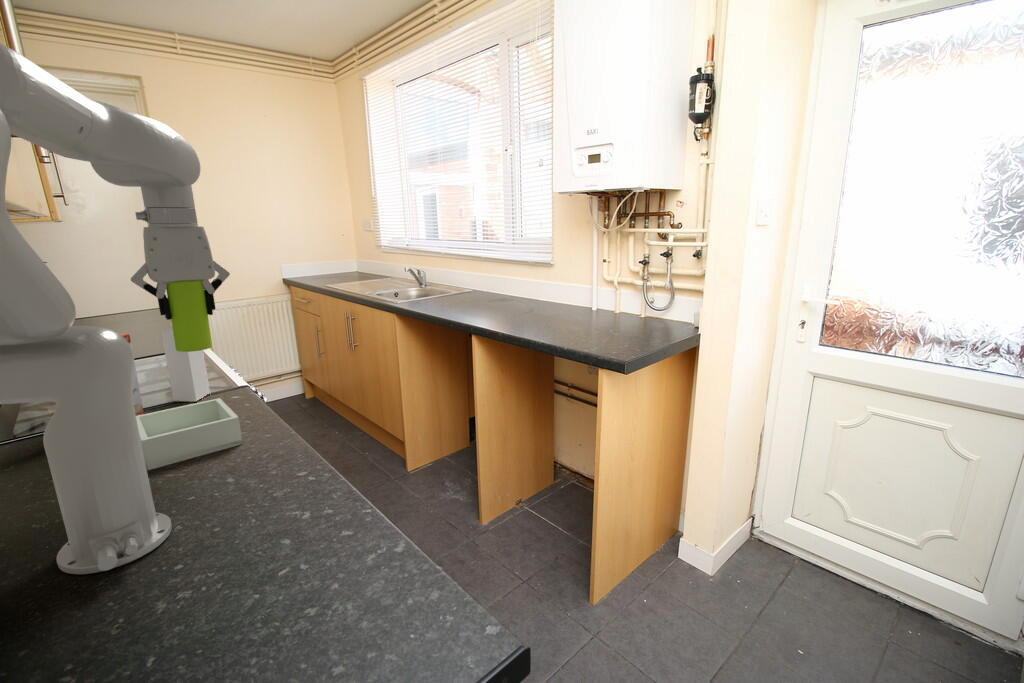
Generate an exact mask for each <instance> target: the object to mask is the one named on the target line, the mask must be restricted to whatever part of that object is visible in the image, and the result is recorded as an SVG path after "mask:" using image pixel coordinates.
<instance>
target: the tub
mask: <svg viewBox="0 0 1024 683" xmlns="http://www.w3.org/2000/svg"><path fill="white" fill-rule="evenodd" d="M136 420H137V426H138V430H139V435H140V439H141V444H142V449H143V454H144V459H145V464H146V468H147V471H151V470H155V469H158V468H162V467H165V466H168V465H169V466H170V465H173V464H176V463H180V462H184V461H187V460H190V459H194V458H197V457H200V456H205V455H208V454H212V453H215V452H219V451H223V450H227V449H230V448H233V447H236V446H242V445H243V443H244V442H243V437H242V436H243V435H242V431H241V424H240V419H239V416H238V415H237V414H236V412H234V411H233V410H232V409H231V408H230V407H229V406H228V405H227V404H226V403H225V401H223V400H222V399H221V398H220V397H218V398H213V399H210V400H204V401H199V402H197V403H189V404H186V405H182V406H176V407H172V408H167V409H163V410H158V411H153V412H148V413H144V414H143V415H138V416H136Z"/></svg>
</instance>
